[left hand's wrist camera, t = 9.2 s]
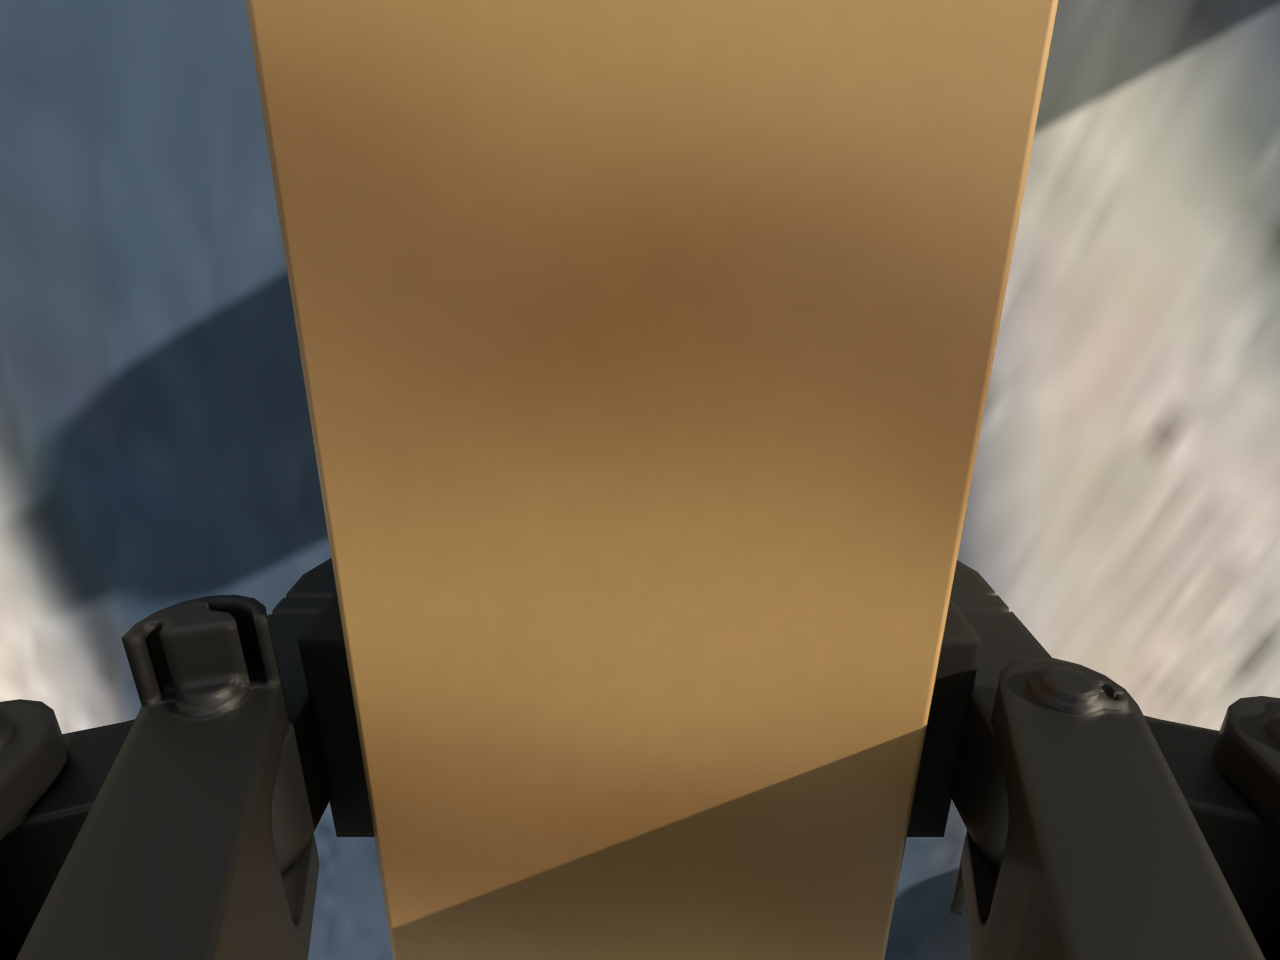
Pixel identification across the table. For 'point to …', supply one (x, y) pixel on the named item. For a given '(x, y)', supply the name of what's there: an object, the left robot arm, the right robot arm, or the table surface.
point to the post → (646, 440)
